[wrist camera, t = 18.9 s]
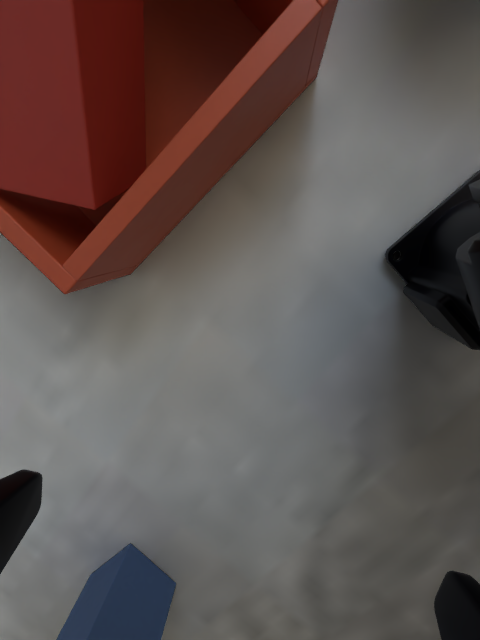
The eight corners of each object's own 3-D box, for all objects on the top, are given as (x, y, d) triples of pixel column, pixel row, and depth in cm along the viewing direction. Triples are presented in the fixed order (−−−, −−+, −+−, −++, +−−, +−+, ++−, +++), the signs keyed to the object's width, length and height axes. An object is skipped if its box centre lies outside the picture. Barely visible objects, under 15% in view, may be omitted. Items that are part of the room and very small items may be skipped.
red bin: (122, -158, 15) (15, -432, 9) (317, 77, 17) (344, -16, 10) (-46, 97, 18) (-212, 28, 12) (130, 274, 20) (64, 295, 14)
